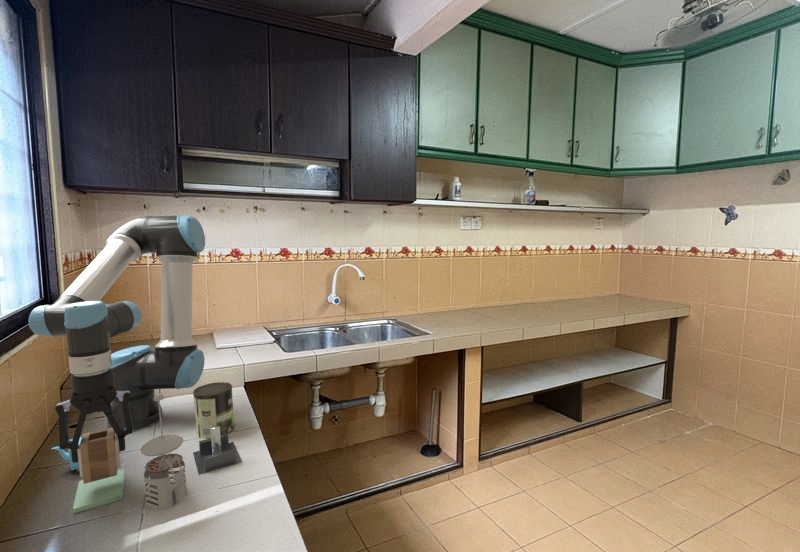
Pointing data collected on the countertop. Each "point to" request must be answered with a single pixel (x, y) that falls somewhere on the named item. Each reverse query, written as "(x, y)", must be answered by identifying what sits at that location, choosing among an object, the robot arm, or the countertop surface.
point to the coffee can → (213, 408)
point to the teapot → (69, 456)
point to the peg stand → (215, 452)
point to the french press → (164, 468)
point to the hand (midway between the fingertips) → (101, 469)
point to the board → (99, 492)
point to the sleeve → (98, 455)
